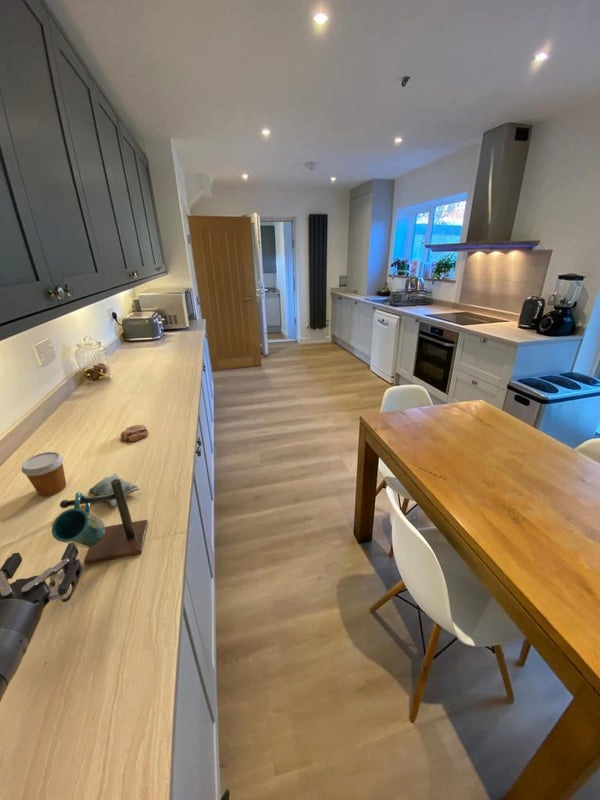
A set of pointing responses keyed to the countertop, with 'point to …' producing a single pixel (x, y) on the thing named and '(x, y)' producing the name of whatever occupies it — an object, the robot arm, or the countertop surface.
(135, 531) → the mug stand
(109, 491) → the grey bean bag
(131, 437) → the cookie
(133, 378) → the countertop surface
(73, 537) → the mug
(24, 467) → the disposable coffee cup
